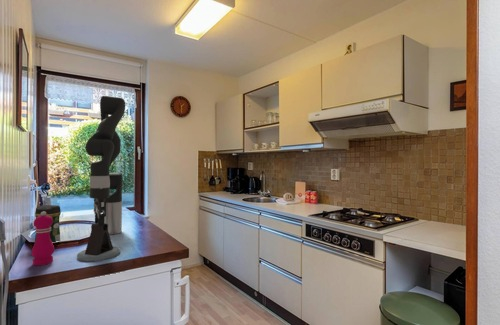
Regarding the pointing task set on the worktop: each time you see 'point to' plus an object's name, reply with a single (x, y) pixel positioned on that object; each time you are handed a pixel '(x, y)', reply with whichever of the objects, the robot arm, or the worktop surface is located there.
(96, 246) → the door stopper
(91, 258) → the dish
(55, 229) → the coffee jar
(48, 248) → the pepper mill
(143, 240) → the worktop surface
